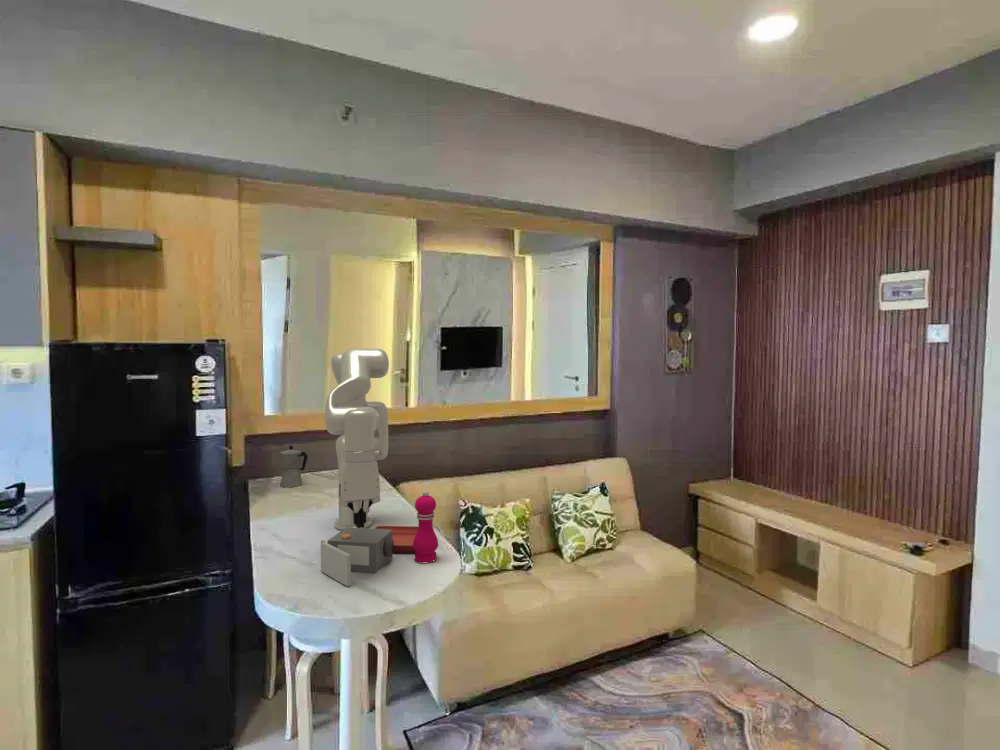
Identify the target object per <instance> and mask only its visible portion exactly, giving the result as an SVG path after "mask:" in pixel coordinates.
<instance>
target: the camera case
mask: <svg viewBox="0 0 1000 750" xmlns="http://www.w3.org/2000/svg"><path fill="white" fill-rule="evenodd" d="M326 543H328V544H330V545H332V546H334V547H336V548H338V549H340V550H342V551H344V552H346V553H348V554H350V555H351V572H355V571H357V572H358V573H371V574H377V573H378V572H379V571H381V569H382V568H383V567H384V566H385V565H386V564H387V563H388V562H389V561H390V560H391V559H392V558H393V554H394V552H393V549H394V541H393V539H392V530H387V529H375V528H372V527H371V528H368V527H367V528H354V527H346V528H345V529H343V530H340V531H339V532H337V533H336V534H334V536H332V537H330V538H329V539H327V542H326ZM357 572H356V573H357Z"/></svg>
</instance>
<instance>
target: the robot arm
mask: <svg viewBox="0 0 1000 750" xmlns="http://www.w3.org/2000/svg"><path fill="white" fill-rule="evenodd" d="M389 360H390V359H389V356H388V354H387V352H386V351H385V350H384V349H381V348H351V349H348V350H346V351H344V352H339V353H336V354H334V355H332V357H331V361H330V365H331V371H332V373H333V376H334V378H335V380H336V382H337V385H336V386H335V387H334V388H333V389H332V390H331V391H330V392H329V394H328V395H327V397H326V400H325V406H324V422H325V423H324V424H325V430H326V431H327V432H328V433H329V434H331V435H333V436H335V435H336V436H339V437H338V438H337V439H336V441H335V452H336V458H337V468H338V469H337V470H338V491H337V492H338V519H337V520H336V521H334V523H333V524H334V525H333V527H334V529H337V530H339V531H342V530H343V529H345V528H346V527H354V528H368V527H371V526H372V525H373V520H372V519H371V518H369V517H368V513H370V511H371V507H372V506H373V505H375V504H377V503H379V502H381V496H380V495H381V483H380V474H379V466H378V462H377V461H382V460H385V459H386V458H387V457H388V455H389V453H388V452H389V413H388V412H389V411H388V408H387V406H386V404H385V403H384V402H382V401H367V399H366V398H367V397H366V396H367V394H369V392H370V390H371V387H372V386H371V385H372V383H371V379H381V378H384V377H385V376H386V375H387V374H388V372H389V368H390V367H389V366H390V362H389Z"/></svg>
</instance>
